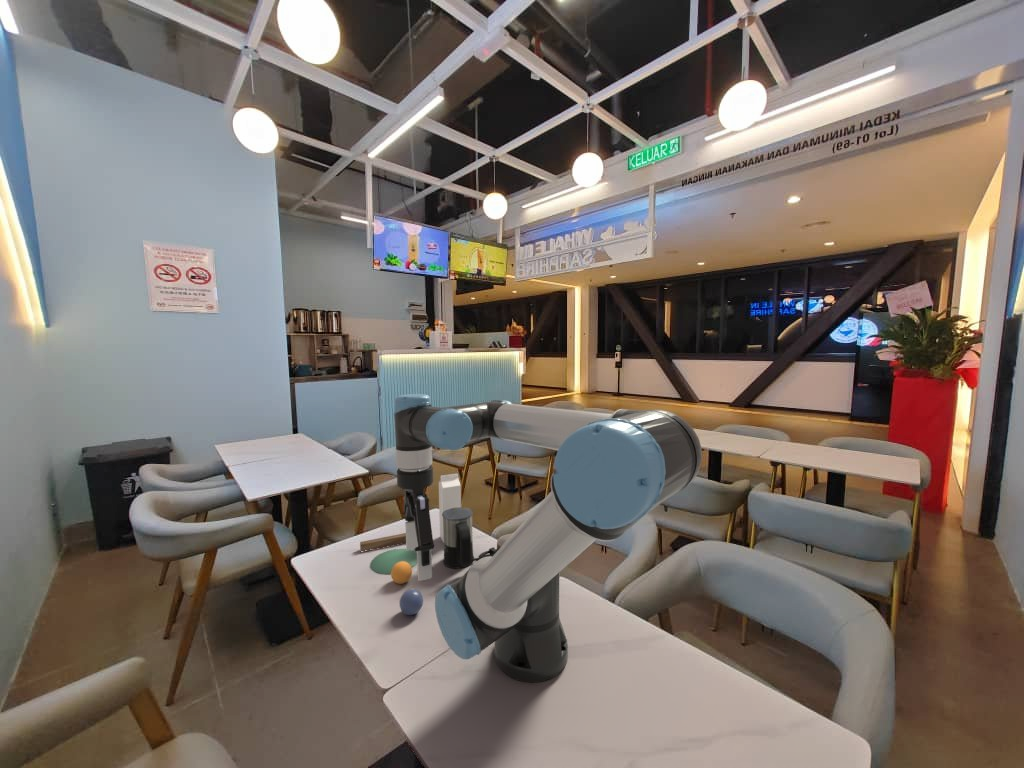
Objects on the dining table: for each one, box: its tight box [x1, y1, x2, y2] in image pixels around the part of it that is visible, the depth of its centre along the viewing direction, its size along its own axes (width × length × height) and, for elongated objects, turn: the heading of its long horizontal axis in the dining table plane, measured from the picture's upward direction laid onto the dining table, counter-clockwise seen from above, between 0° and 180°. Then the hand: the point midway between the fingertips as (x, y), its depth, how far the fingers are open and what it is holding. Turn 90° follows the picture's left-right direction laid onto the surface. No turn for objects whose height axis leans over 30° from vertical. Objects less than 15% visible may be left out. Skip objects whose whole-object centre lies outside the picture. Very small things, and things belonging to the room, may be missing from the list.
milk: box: [438, 473, 462, 544], centre depth 131 cm, size 6×6×22 cm
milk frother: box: [442, 506, 497, 569], centre depth 118 cm, size 14×16×15 cm
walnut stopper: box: [359, 532, 406, 552], centre depth 128 cm, size 2×18×2 cm, turn 115°
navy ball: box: [399, 588, 424, 616], centre depth 94 cm, size 6×6×6 cm
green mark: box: [370, 548, 417, 575], centre depth 118 cm, size 14×14×1 cm
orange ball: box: [390, 561, 413, 585], centre depth 107 cm, size 6×6×6 cm
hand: (418, 562), depth 86 cm, fingers open, 13 cm apart
